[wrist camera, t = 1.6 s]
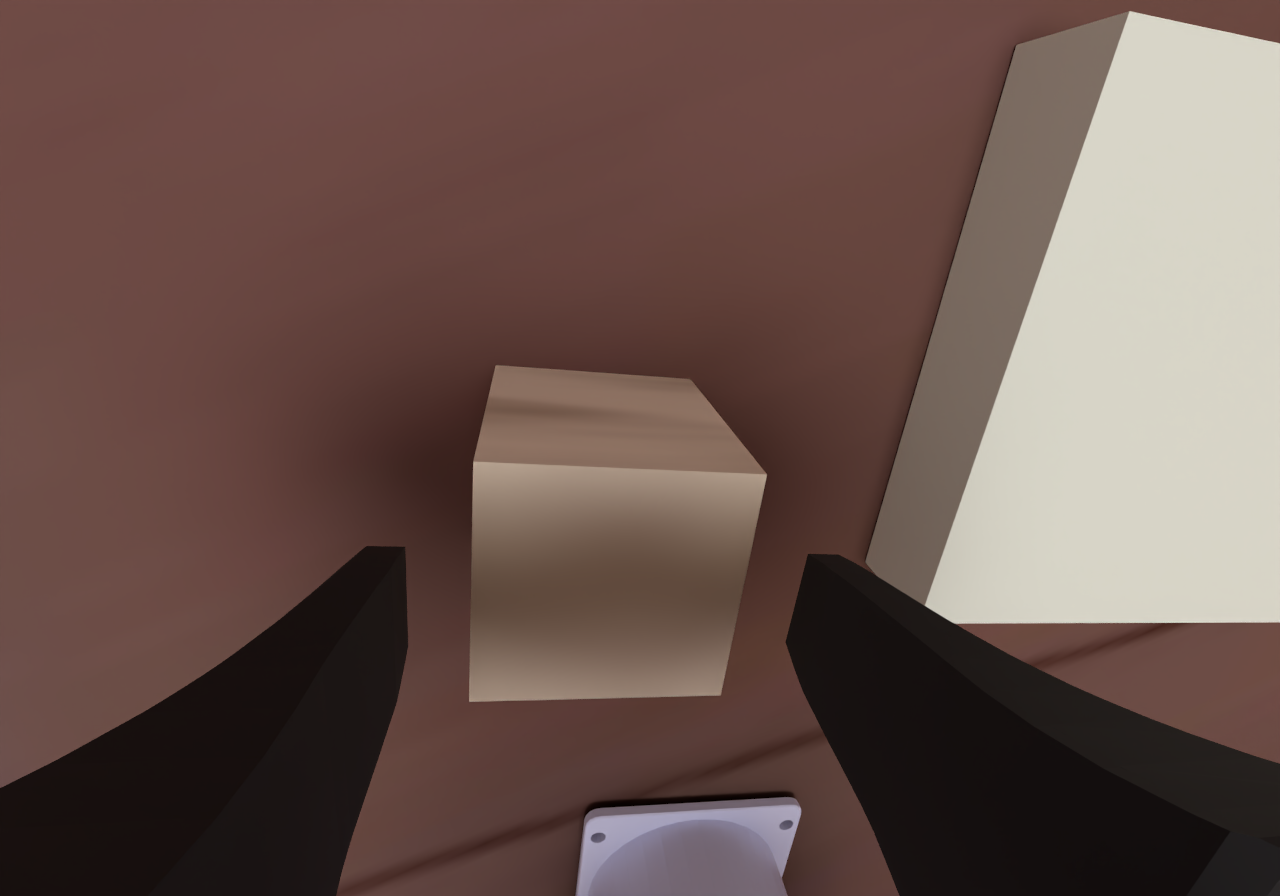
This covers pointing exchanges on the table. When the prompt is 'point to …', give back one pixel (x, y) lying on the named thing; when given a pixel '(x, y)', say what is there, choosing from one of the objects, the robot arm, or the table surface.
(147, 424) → the table surface
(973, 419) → the base plinth
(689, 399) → the ash block
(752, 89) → the table surface
